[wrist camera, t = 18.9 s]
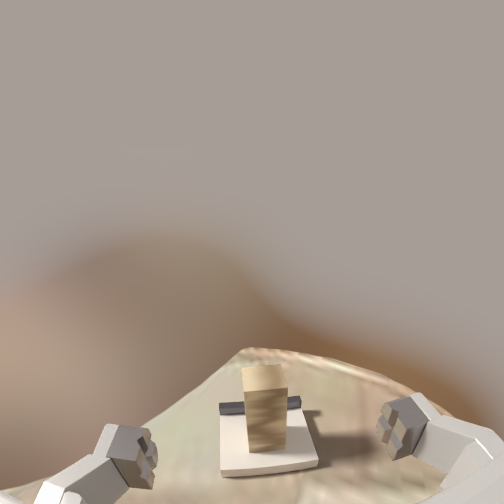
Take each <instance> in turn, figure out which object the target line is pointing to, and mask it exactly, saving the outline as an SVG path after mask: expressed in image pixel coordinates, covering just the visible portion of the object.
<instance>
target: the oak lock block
mask: <svg viewBox="0 0 504 504" xmlns="http://www.w3.org/2000/svg"><path fill="white" fill-rule="evenodd" d="M242 379H243V391H244V403H245V414H246V425H247V436H248V445H249V453H254V452H265V451H274V450H282V449H286V426H287V396H288V387H287V383H286V380H285V377H284V374H283V370H282V367H281V364H278V365H268V366H257V367H244V368H242Z"/></svg>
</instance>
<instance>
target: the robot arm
mask: <svg viewBox="0 0 504 504" xmlns="http://www.w3.org/2000/svg"><path fill="white" fill-rule="evenodd" d="M381 412H382V414H383V415H382V416H381V417H380V418H379V419H378V422H377V434H378V437H379V439H380V440H381V442H383V443H386V444H387V447H386V451H387V452H388V454H389V456H390V457H391V459H392V461H395V460H398V459H400V458H403V457H406V456H409V455H411V454H412V455H413V456H414V457H416V458H418V459H420V460H421V461H423V462H425V463H427V464H429V465H431V466H432V467H434V468H436V469H438V470H440V471H442V472H444V473H446V474H447V476H446V477H445V478H444V480H443V481H442V483H441V485H440V487H441V488H442V490H443V491H441V492H439V493H437V494H435V495H433V496H431V497H429V498H427V499H425V500H423V501H421V502H419V503H417V504H504V442H503V441H502V440H501V439H500V438H499V437H498V436H497V435H496V433H494V431H493V430H492V429H488V428H485V427H481V426H478V425H475V424H471V423H468V422H465V421H462V420H459V419H455V418H452V417H449V416H446V415H443V416H441V415H440V414H439V413H438V412H437V410H436V409H435V408H434V407H433V406H432V405H431V404H430V402H429V401H428V400H427V399H426V398H425V397H424V396H423V395H422V394H421V393H419V392H418V393H415V394H412V395H409V396H406V397H403V398H400V399H396V400H393V401H390V402H387V403H384V404H383V406H382V408H381ZM150 439H151V433H150V431H149V429H147V428H139V427H130V426H123V425H114V424H107V425H106V426H105V427H104V429H103V432H102V434H101V436H100V438H99V441H98V443H97V445H96V448H95V450H94V453H93V455H90V454H89V455H87V456H85V457H84V458H82V459H81V460H79V461H78V462H76V463H74V464H73V465H71V466H70V467H68V468H66V469H65V470H63V471H61V472H60V473H58V474H56V475H55V476H53V477H51V478H49V479H48V480H46V481H44V483H43V485H42V487H41V489H40V491H39V494H38V496H37V498H36V500H35V502H34V504H114V503H115V502H116V501H117V500H118V499H119V498H120V497H121V496H122V495H123V494H124V493H125V492H126V491H127V490H128V489H129V487H131V488H140V489H150V490H152V488H153V483H154V477H155V475H154V473H153V471H152V470H153V469H154V468H155V467H157V461H158V453H157V448H156V445H155V443H154V442H152V441H151V440H150ZM0 504H26V503H24V502H22V501H20V500H18V499H16V498H14V497H12V496H10V495H8V494H6V493H5V492H3V491H1V490H0Z"/></svg>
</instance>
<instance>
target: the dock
mask: <svg viewBox="0 0 504 504" xmlns="http://www.w3.org/2000/svg"><path fill="white" fill-rule="evenodd" d="M301 402H302V401H301V398H300V396H293V397H287V426H286V449H282V450H274V451H265V452H254V453H249V445H248V436H247V425H246V414H245V403H244V402H229V403H219V411H220V470H221V474H222V477H239V476H253V475H264V474H273V473H281V472H289V471H295V470H301V469H307V468H313V467H317V465H318V460H319V459H318V456H317V453H316V450H315V447H314V444H313V441H312V438H311V435H310V432H309V429H308V426H307V424H306V421H305V418H304V415H303V412H302V409H301Z"/></svg>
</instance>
